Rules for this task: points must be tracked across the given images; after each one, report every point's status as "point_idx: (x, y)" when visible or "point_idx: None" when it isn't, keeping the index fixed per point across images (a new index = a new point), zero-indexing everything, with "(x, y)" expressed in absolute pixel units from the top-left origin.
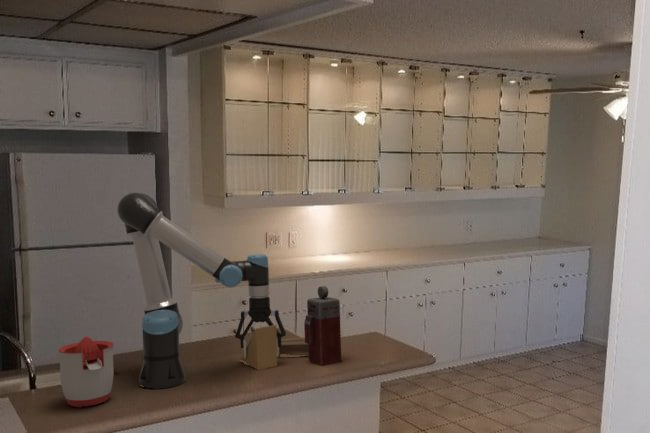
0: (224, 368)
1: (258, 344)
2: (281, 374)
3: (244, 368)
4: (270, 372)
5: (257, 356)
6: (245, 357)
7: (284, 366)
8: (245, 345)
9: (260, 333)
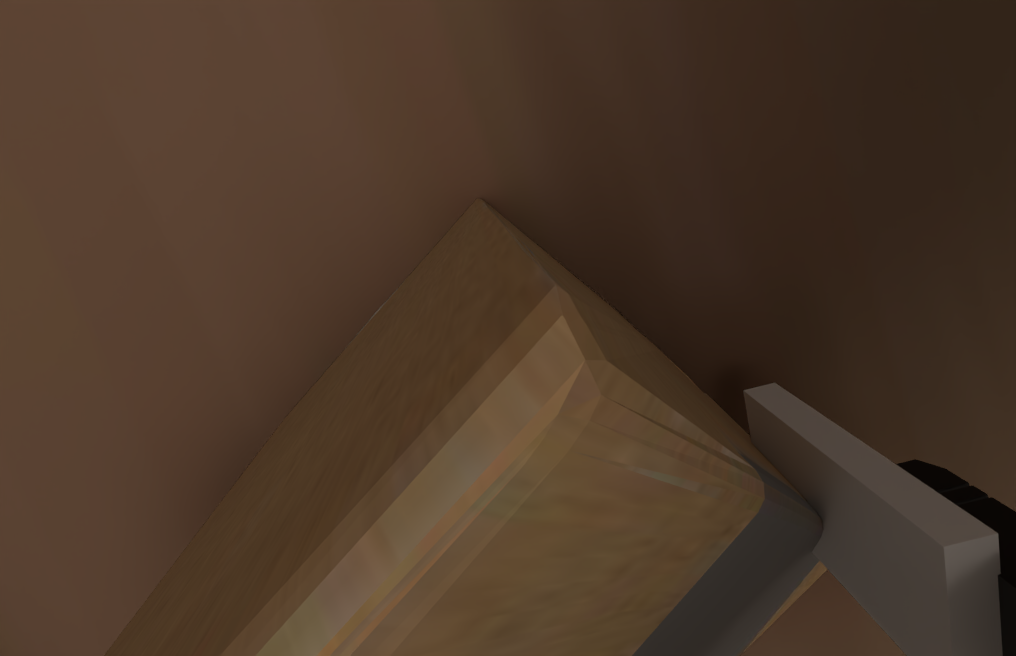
0: (961, 219)
1: (456, 259)
2: (39, 9)
3: (691, 254)
4: (250, 98)
5: (480, 206)
6: (754, 390)
7: (182, 419)
8: (858, 476)
9: (357, 431)
